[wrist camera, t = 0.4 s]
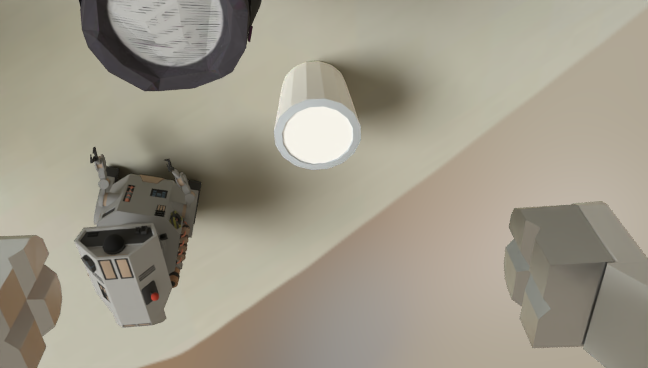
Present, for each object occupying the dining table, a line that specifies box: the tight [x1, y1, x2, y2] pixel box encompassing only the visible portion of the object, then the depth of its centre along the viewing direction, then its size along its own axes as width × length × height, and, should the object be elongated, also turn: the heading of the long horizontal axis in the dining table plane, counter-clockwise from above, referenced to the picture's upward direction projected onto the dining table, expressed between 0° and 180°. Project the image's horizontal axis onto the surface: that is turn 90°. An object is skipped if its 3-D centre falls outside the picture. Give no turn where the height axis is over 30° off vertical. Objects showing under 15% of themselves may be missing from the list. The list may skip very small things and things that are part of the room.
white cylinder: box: [274, 61, 361, 170], centre depth 51 cm, size 7×7×7 cm
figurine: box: [74, 147, 201, 328], centre depth 52 cm, size 9×12×15 cm
